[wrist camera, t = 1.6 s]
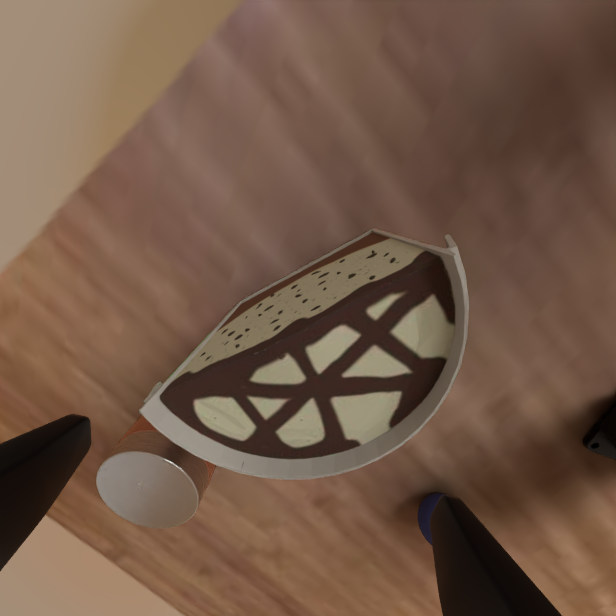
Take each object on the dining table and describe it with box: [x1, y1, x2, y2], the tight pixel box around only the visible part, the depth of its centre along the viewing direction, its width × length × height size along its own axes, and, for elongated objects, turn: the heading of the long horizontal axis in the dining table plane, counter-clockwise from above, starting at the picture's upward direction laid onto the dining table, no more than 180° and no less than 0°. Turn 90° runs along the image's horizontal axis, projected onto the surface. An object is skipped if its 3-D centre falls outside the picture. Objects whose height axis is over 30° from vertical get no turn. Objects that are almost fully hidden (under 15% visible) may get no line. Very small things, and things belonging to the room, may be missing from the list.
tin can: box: [96, 415, 216, 528], centre depth 21 cm, size 6×6×6 cm
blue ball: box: [418, 493, 447, 545], centre depth 23 cm, size 4×4×4 cm
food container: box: [139, 228, 469, 480], centre depth 15 cm, size 12×6×10 cm, turn 120°
